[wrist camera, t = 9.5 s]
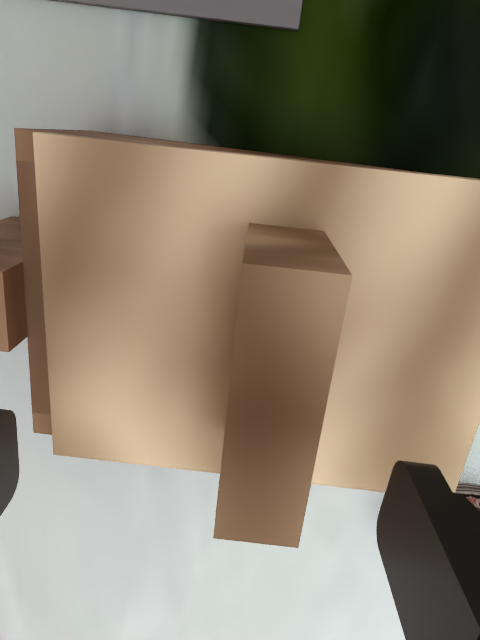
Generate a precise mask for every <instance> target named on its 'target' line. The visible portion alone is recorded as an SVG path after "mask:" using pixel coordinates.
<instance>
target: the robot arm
mask: <svg viewBox="0 0 480 640" xmlns="http://www.w3.org/2000/svg"><path fill="white" fill-rule="evenodd" d="M18 478H19V458H18V442H17V427H16V417H15V414H14V413H13V411H11V410H3V409H0V516H1V514H2V513H3V511H4V510H5V508H6V507H7V505H8V504H9V502H10V501H11V499H12V497H13V495H14V492H15V490H16V487H17V483H18ZM377 543H378V548H379V551H380V555H381V558H382V561H383V565H384V568H385V571H386V575H387V578H388V582H389V585H390V588H391V592H392V595H393V598H394V602H395V605H396V608H397V612H398V615H399V618H400V622H401V625H402V629H403V632H404V635H405V639H406V640H480V510H479V509H478V508H477V507H475V506H474V505H473V504H472V503H471V502H470V501H469V500H468V499H467V498H466V497H465V496H464V495H463V494H462V493H454V492H452V490H451V489H450V487H449V485H448V483H447V481H446V480H445V478H444V476H443V474H442V472H441V471H440V469H439V468H438V467H437V466H436V465H433V464H425V463H417V462H409V461H401V460H399V461H397V462H396V463H395V465H394V467H393V469H392V473H391V476H390V479H389V482H388V486H387V489H386V492H385V495H384V499H383V502H382V505H381V508H380V512H379V515H378V520H377Z"/></svg>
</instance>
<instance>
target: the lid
mask: <svg viewBox="0 0 480 640" xmlns="http://www.w3.org/2000/svg"><path fill="white" fill-rule="evenodd" d="M33 146H34V162H35V177H36V192H37V208H38V223H39V239H40V254H41V269H42V285H43V300H44V316H45V331H46V346H47V362H48V377H49V393H50V408H51V423H52V439H53V454H54V455H62V456H71V457H79V458H88V459H97V460H106V461H115V462H123V463H132V464H141V465H150V466H159V467H167V468H176V469H185V470H194V471H203V472H211V473H220V480H219V489H218V499H217V509H216V518H215V528H214V537H213V538H216V539H225V540H234V541H243V542H251V543H260V544H269V545H277V546H286V547H295V548H298V546H299V541H300V536H301V531H302V526H303V521H304V516H305V511H306V506H307V501H308V496H309V491H310V486H311V484H317V485H326V486H335V487H344V488H352V489H361V490H370V491H379V492H386V489H387V486H388V482H389V479H390V476H391V473H392V469H393V467H394V465H395V463H396V462H397V461H399V460H401V461H409V462H417V463H425V464H433V465H436V466H437V467H438V468H439V469H440V471H441V472H442V474H443V476H444V478H445V480H446V481H447V483H448V485H449V487H450V489H451V490H452V492H454V493H455V491H456V488H457V485H458V482H459V479H460V477H461V474H462V471H463V468H464V465H465V462H466V460H467V457H468V454H469V451H470V448H471V445H472V442H473V440H474V437H475V434H476V431H477V428H478V425H479V422H480V179H476V178H466V177H457V176H448V175H439V174H429V173H420V172H411V171H402V170H392V169H383V168H374V167H365V166H355V165H346V164H337V163H327V162H318V161H309V160H300V159H290V158H281V157H272V156H263V155H253V154H244V153H235V152H226V151H216V150H207V149H198V148H189V147H179V146H170V145H161V144H151V143H142V142H133V141H124V140H114V139H105V138H96V137H87V136H77V135H68V134H59V133H49V132H33Z"/></svg>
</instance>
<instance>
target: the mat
mask: <svg viewBox="0 0 480 640" xmlns="http://www.w3.org/2000/svg"><path fill="white" fill-rule="evenodd" d="M54 1H61V2H69V3H77V4H85V5H93V6H101V7H109V8H117V9H125V10H133V11H141V12H149V13H157V14H165V15H173V16H181V17H189V18H197V19H205V20H213V21H221V22H229V23H237V24H245V25H253V26H261V27H269V28H277V29H285V30H293V31H298V29H299V22H300V15H301V8H302V1H303V0H54Z"/></svg>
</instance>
